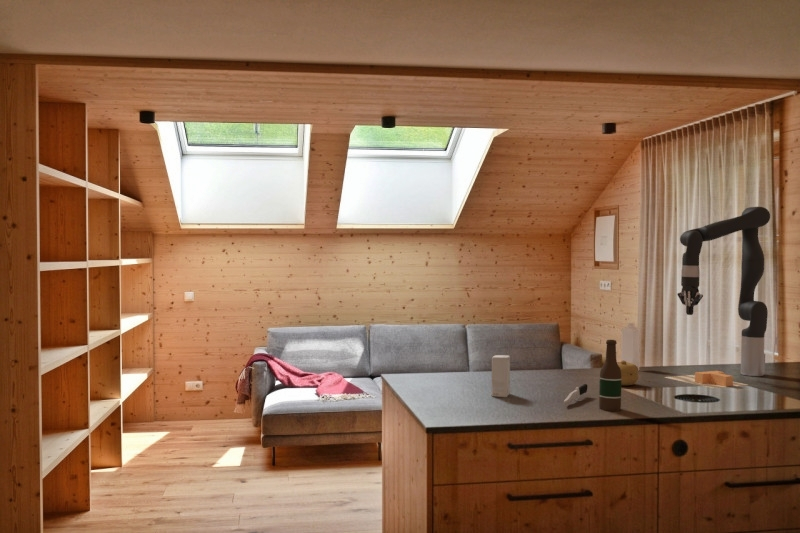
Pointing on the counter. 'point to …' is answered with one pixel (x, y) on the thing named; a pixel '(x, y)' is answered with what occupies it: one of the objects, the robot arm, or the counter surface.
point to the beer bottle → (610, 380)
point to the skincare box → (501, 375)
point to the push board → (692, 380)
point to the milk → (630, 344)
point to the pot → (628, 373)
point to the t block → (714, 378)
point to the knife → (575, 394)
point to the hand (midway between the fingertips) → (689, 314)
